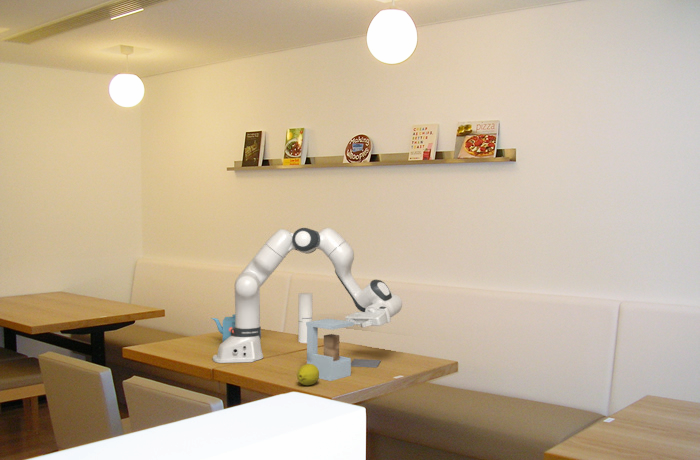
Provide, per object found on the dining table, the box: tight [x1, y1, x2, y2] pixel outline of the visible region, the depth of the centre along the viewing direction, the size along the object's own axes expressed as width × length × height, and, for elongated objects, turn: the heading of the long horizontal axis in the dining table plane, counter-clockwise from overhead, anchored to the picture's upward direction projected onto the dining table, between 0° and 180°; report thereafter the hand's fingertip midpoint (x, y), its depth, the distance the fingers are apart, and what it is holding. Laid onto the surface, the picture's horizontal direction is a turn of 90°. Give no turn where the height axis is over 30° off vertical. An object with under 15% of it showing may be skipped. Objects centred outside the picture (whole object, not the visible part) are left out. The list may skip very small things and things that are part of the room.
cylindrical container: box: [297, 292, 313, 344], centre depth 324 cm, size 7×7×25 cm
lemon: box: [296, 363, 320, 386], centre depth 237 cm, size 11×8×8 cm
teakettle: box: [210, 314, 235, 342], centre depth 319 cm, size 19×19×15 cm
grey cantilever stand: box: [306, 318, 355, 382], centre depth 253 cm, size 13×14×22 cm
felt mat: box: [351, 358, 382, 368], centre depth 274 cm, size 12×12×1 cm
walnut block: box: [323, 333, 340, 361], centre depth 253 cm, size 4×4×10 cm
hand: (353, 325), depth 263 cm, fingers open, 8 cm apart
